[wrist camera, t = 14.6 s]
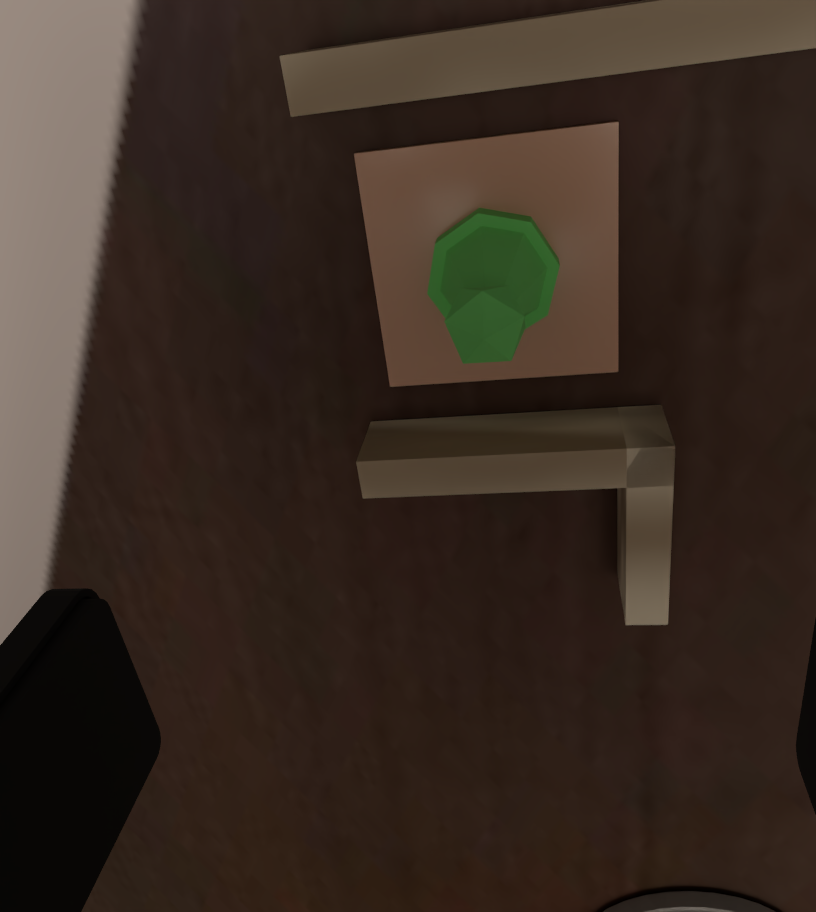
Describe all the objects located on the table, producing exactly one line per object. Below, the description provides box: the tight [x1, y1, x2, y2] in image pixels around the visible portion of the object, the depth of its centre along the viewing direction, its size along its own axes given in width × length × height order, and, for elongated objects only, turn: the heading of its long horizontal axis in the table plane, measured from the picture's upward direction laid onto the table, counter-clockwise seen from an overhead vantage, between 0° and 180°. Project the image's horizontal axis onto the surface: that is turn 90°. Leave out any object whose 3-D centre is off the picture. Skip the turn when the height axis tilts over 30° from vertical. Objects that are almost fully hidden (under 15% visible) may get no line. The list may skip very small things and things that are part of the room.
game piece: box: [427, 208, 560, 364], centre depth 23 cm, size 4×4×6 cm
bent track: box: [280, 0, 816, 625], centre depth 25 cm, size 20×23×3 cm
